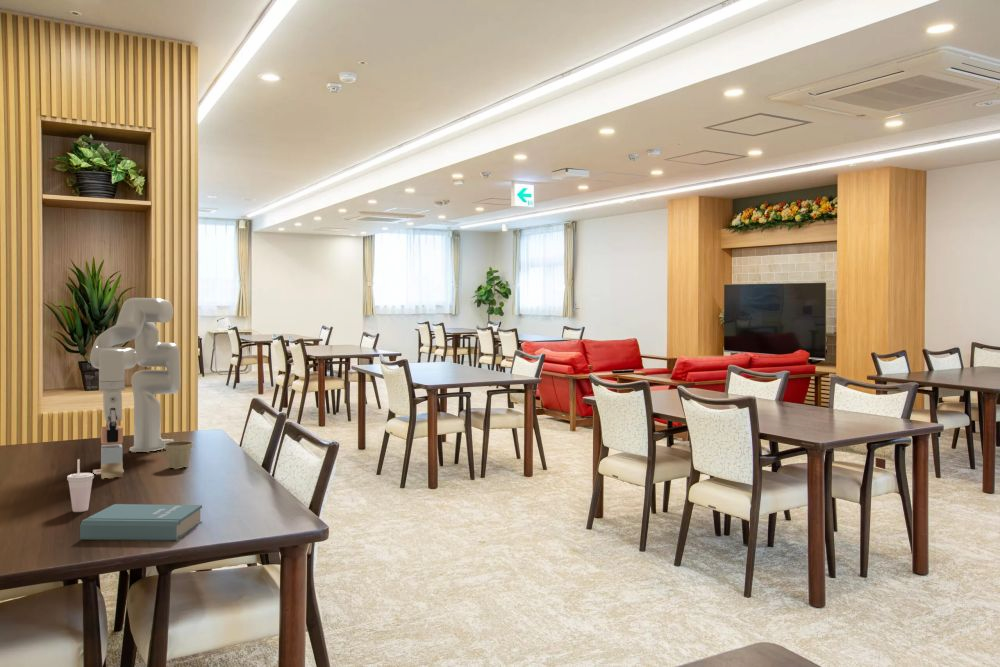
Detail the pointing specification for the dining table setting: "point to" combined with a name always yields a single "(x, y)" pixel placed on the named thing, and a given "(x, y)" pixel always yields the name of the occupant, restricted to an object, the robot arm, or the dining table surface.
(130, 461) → the dining table surface
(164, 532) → the book
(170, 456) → the flower pot
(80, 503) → the smoothie
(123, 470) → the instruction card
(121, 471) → the maple brick
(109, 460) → the slate blue brick
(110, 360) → the robot arm
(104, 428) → the terracotta brick
